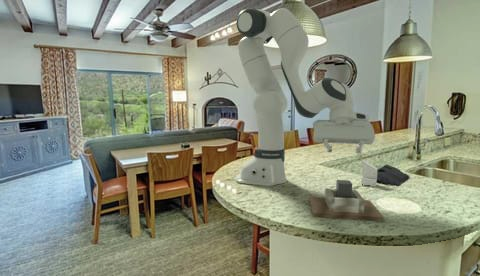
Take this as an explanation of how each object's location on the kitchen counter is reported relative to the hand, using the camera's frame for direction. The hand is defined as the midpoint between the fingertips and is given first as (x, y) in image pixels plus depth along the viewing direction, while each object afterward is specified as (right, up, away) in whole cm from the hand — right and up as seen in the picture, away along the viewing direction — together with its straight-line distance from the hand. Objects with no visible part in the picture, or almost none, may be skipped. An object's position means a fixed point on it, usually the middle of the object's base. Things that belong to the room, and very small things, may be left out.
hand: (344, 152), depth 93 cm
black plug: (-2, -17, -5) cm, 18 cm away
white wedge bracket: (+18, -15, +22) cm, 32 cm away
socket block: (-2, -18, -5) cm, 19 cm away
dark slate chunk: (+31, -14, +32) cm, 47 cm away
